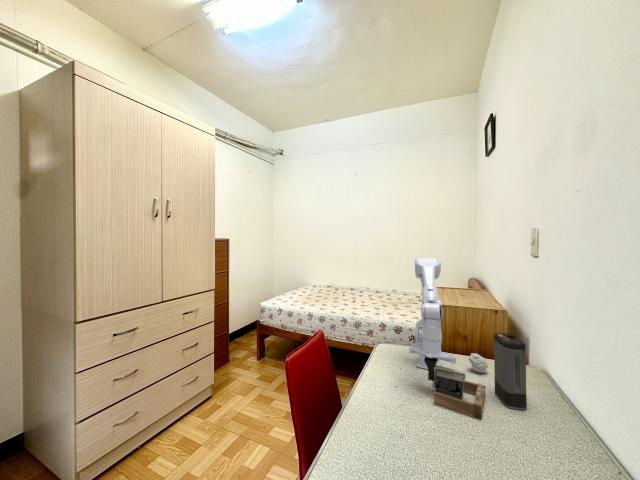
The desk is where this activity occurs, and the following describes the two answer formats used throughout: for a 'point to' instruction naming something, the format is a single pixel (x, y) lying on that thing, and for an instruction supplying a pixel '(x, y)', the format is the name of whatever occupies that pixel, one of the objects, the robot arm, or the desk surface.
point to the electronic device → (510, 370)
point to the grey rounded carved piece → (478, 363)
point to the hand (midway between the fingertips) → (431, 379)
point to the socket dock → (461, 405)
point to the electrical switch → (449, 381)
